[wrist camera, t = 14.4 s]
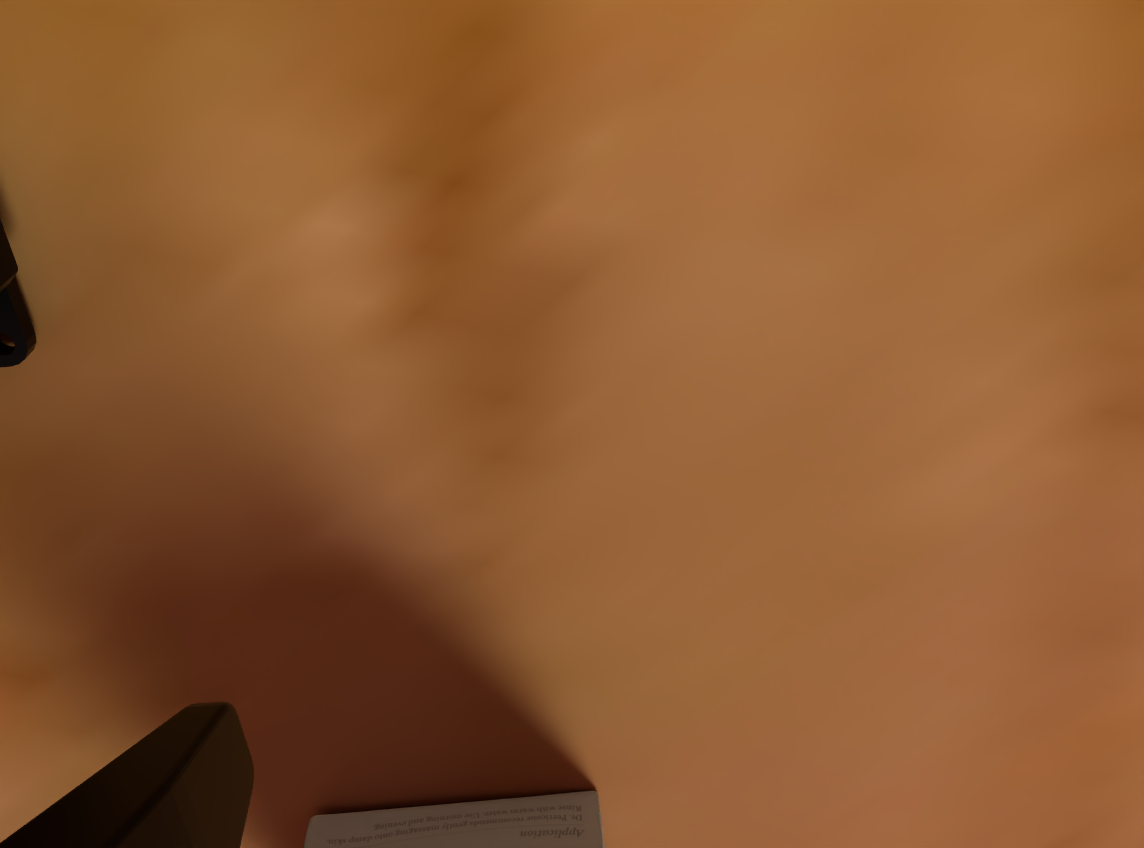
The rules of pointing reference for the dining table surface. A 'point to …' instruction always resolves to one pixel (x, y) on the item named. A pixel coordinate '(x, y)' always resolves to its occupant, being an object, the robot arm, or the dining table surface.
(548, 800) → the skincare box
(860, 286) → the dining table surface
